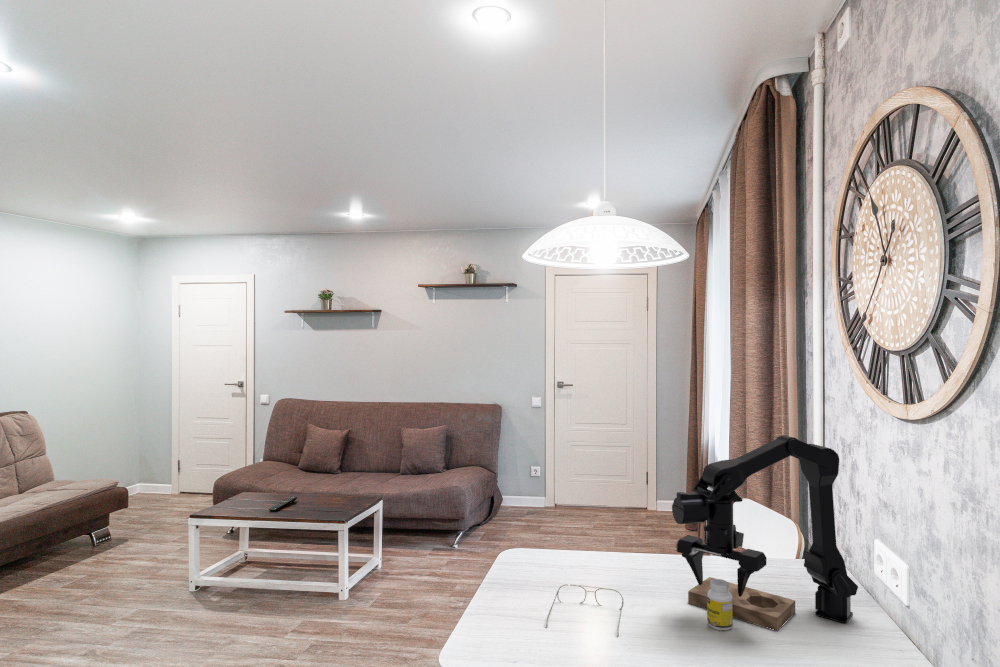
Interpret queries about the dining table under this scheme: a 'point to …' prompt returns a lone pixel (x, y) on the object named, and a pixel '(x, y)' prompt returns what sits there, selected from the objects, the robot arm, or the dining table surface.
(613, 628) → the dining table surface
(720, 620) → the supplement bottle
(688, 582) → the dining table surface
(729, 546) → the robot arm
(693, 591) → the socket board
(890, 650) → the dining table surface
